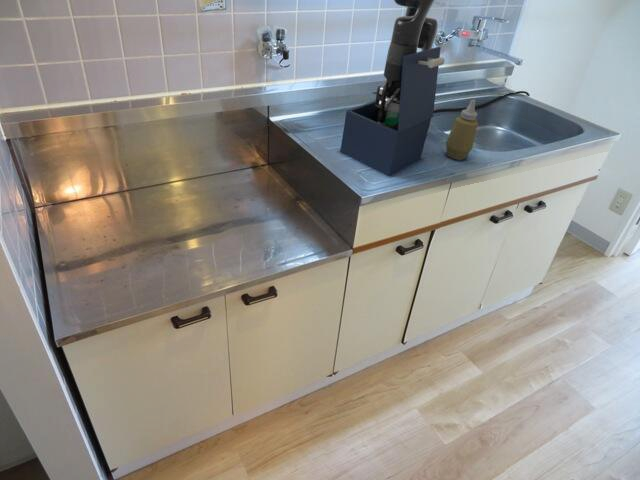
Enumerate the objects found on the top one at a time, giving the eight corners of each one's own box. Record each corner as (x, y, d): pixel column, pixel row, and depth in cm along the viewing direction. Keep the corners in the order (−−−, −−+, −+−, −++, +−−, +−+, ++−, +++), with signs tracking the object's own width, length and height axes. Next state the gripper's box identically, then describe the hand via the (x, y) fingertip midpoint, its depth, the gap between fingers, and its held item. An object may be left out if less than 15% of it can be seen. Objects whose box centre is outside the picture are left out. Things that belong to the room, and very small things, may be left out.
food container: (365, 123, 140) (371, 90, 134) (382, 122, 143) (389, 89, 137) (386, 141, 132) (393, 107, 126) (404, 139, 134) (412, 106, 128)
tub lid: (403, 55, 115) (422, 58, 112) (438, 46, 125) (456, 48, 122) (397, 131, 124) (415, 135, 121) (430, 116, 135) (447, 120, 132)
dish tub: (340, 151, 141) (346, 110, 133) (373, 137, 152) (381, 98, 144) (388, 176, 132) (398, 133, 124) (420, 158, 143) (431, 118, 135)
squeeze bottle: (459, 149, 152) (476, 94, 141) (473, 161, 146) (493, 105, 135) (438, 150, 149) (454, 95, 138) (452, 163, 143) (470, 106, 132)
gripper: (397, 68, 119) (384, 129, 129) (426, 60, 128) (412, 117, 138) (373, 60, 122) (363, 120, 132) (403, 52, 131) (391, 109, 141)
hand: (388, 118), depth 135 cm, fingers closed on food container, 7 cm apart
